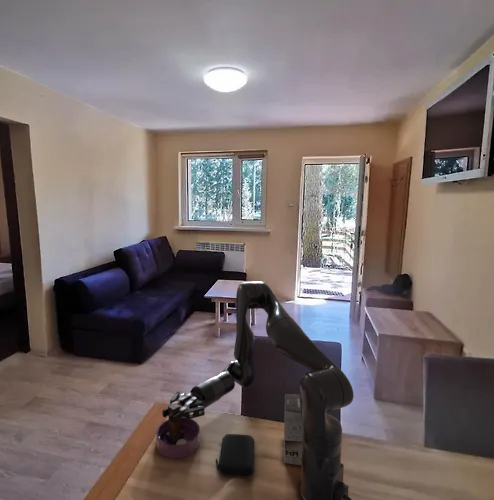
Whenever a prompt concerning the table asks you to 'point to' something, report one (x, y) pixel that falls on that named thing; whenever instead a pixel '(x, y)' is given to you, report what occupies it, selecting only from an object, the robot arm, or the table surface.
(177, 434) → the brown wooden block
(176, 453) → the bowl
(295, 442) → the coffee box
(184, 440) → the beige disc
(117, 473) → the table surface
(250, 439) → the carrying case
